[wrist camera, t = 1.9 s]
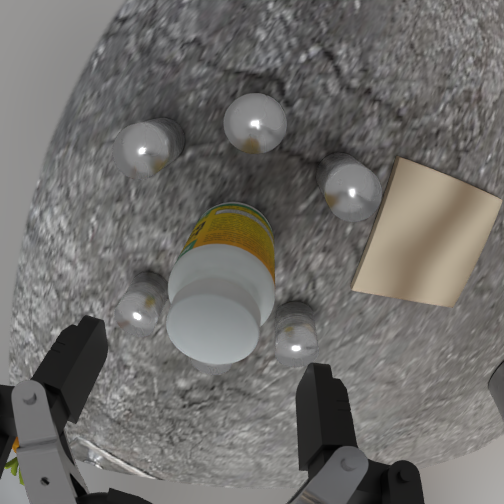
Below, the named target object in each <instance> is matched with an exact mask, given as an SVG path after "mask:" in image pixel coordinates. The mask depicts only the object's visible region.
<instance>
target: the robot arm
mask: <svg viewBox="0 0 504 504" xmlns="http://www.w3.org/2000/svg"><path fill="white" fill-rule="evenodd" d="M107 353H108V344H107V337H106V330H105V323H104V321H103V320H101V319H98V318H94V317H91V316H88V315H85V316H84V317H83V318H82V320H81V321H80V323H79V324H78V326H76V325H73V324H71V325H70V326H69V327H67V328H66V329H64V330H63V331H62V332H61V333H60V335H59V336H58V338H57V339H56V342H55V343H54V344H53V345H52V347H51V350H49V351H48V353H47V355H46V356H45V358H44V359H43V361H42V362H41V364H40V366H39V367H38V369H37V370H36V372H35V374H34V375H33V377H32V378H31V379H30V380H25V381H22V382H20V383H18V384H17V385H16V386H6V385H0V479H1V476H2V473H3V470H4V467H5V465H6V462H7V459H8V457H9V454H10V451H11V449H12V446H13V444H14V441H15V439H16V437H18V440H19V447H17V449H16V454H17V459H18V463H19V467H20V471H21V475H22V479H23V482H24V486H25V489H26V492H27V496H28V499H29V502H30V504H152V503H150V502H148V501H146V500H144V499H143V498H141V497H139V496H135V495H132V494H128V493H125V492H121V491H118V490H115V489H112V488H109V492H108V493H105V492H103V493H102V492H101V493H100V492H98V493H89V491H88V489H87V486H86V484H85V482H84V479H83V478H82V476H81V474H80V472H79V470H78V467H77V465H76V462H75V459H74V456H73V453H72V450H71V447H70V444H69V441H68V438H67V435H66V432H65V429H64V427H65V425H66V423H67V421H70V422H72V423H75V424H76V423H77V421H78V419H79V416H80V414H81V412H82V410H83V407H84V405H85V403H86V401H87V399H88V396H89V394H90V392H91V390H92V388H93V386H94V383H95V381H96V379H97V377H98V375H99V373H100V371H101V369H102V367H103V365H104V363H105V360H106V358H107ZM488 388H489V391H490V393H491V395H492V397H493V399H494V401H495V403H496V405H497V407H498V410H499V412H500V414H501V416H502V419H503V421H504V362H503V363H502V364H501V366H500V367H499V368H498V369H497V370H496V372H495V373H494V375H493V376H492V378H491V380H490V382H489V387H488ZM350 410H351V408H350V403H349V398H348V393H347V389H346V387H345V386H344V384H343V383H342V381H341V380H340V379H336V378H333V377H332V371H331V367H330V365H329V364H320V363H309V365H308V367H307V369H306V371H305V373H304V375H303V377H302V379H301V381H300V383H299V385H298V388H297V391H296V415H297V435H298V457H299V470H301V471H308V479H307V480H306V481H305V482H304V483H303V485H302V486H301V487H300V488H299V490H297V492H296V493H295V494H294V495H293V496H292V497H291V499H290V500H289V501H288V502H287V503H286V504H425V503H424V497H423V491H422V485H421V479H420V474H419V471H418V469H417V467H416V466H415V465H414V464H413V463H411V462H409V461H405V460H401V461H397V462H395V463H394V464H392V465H387V464H383V463H379V462H375V461H372V460H370V459H368V458H367V457H366V455H365V454H364V453H363V452H362V451H361V450H360V449H359V448H358V446H357V442H356V436H355V430H354V425H353V419H352V414H351V412H350Z"/></svg>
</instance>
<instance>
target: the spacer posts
mask: <svg viewBox="0 0 504 504" xmlns="http://www.w3.org/2000/svg"><path fill="white" fill-rule="evenodd" d="M286 129H287V118H286V114H285V112H284V110H283V108H282V107H281V105H280V104H279V103H278V102H277V101H276V100H274V99H273V98H271V97H270V96H267V95H264V94H260V93H251V94H246V95H243V96H241V97H239V98H237V99H236V100H234V101H233V102H232V103H231V104H230V106H229V107H228V109H227V110H226V113H225V116H224V131H225V134H226V136H227V138H228V140H229V141H230V142H231V144H232V145H233V146H235V147H236V148H237V149H239V150H241V151H243V152H246V153H250V154H261V153H265V152H268V151H270V150H272V149H274V148H275V147H276V146H277V145H278V144H279V143H280V142H281V141H282V139H283V138H284V136H285V133H286ZM184 144H185V136H184V132H183V130H182V128H181V127H180V125H179V124H178V123H177V122H175V121H174V120H172V119H169V118H164V117H162V118H156V119H152V120H148V121H144V122H140V123H136V124H132V125H129V126H127V127H125V128H124V129H123V130H121V131H120V132H119V134H118V135H117V137H116V138H115V141H114V144H113V158H114V162H115V164H116V166H117V168H118V169H119V170H120V171H121V172H122V173H123V174H124V175H125V176H127V177H129V178H132V179H136V180H142V179H147V178H149V177H151V176H153V175H154V174H156V173H157V172H158V171H160V170H161V169H162V168H164V167H165V166H167V165H168V164H169V163H171V162H172V161H173V160H175V159H176V158H177V157H178V156H179V155H180V154H181V152H182V150H183V148H184ZM316 180H317V184H318V186H319V188H320V190H321V192H322V194H323V196H324V198H325V200H326V202H327V204H328V206H329V208H330V210H331V211H332V212H333V214H334V215H335V216H337V217H338V218H340V219H342V220H344V221H348V222H358V221H362V220H365V219H367V218H368V217H370V216H371V215H372V214H373V213H374V212H375V211H376V210H377V208H378V207H379V205H380V202H381V199H382V187H381V184H380V181H379V180H378V178H377V177H376V175H375V174H374V173H373V172H371V171H370V170H369V169H368V168H366V167H365V166H364V165H363V164H361V163H360V162H359V161H358V160H356V159H355V158H354V157H352V156H351V155H349V154H346V153H341V152H338V153H333V154H330V155H328V156H326V157H325V158H324V159H323V160H322V161H321V162H320V164H319V165H318V168H317V171H316ZM168 296H169V295H168V284H167V282H166V281H165V279H164V278H163V277H161V276H160V275H158V274H156V273H154V272H149V271H146V272H141V273H139V274H138V275H137V276H136V277H135V279H134V280H133V282H132V284H131V285H130V287H129V288H128V290H127V291H126V293H125V294H124V296H123V298H122V299H121V301H120V302H119V304H118V306H117V307H116V309H115V312H114V316H115V320H116V322H117V323H118V325H119V326H120V327H121V328H122V329H123V330H124V331H126V332H127V333H129V334H131V335H134V336H139V337H143V336H147V335H149V334H151V333H152V332H153V330H154V328H155V325H156V323H157V321H158V319H159V316H160V314H161V312H162V310H163V307H164V305H165V303H166V301H167V299H168ZM318 354H319V347H318V340H317V334H316V327H315V321H314V315H313V311H312V309H311V307H310V306H309V305H307V304H306V303H303V302H300V301H291V302H287V303H285V304H283V305H281V306H280V307H279V308H278V309H277V311H276V313H275V356H276V359H277V360H278V361H279V362H280V363H281V364H283V365H285V366H288V367H303V366H306V365H308V364H309V363H312V362H313V361H314V360H315V359H316V358H317V356H318ZM190 361H191V363H192V365H193V366H194V367H195V368H196V369H198V370H199V371H201V372H203V373H206V374H211V375H218V374H223V373H225V372H227V371H228V370H229V369H230V368H231V365H232V363H229V364H209V363H204V362H201V361H198V360H195V359H193V358H191V357H190Z"/></svg>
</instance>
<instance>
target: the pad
mask: <svg viewBox="0 0 504 504" xmlns="http://www.w3.org/2000/svg"><path fill="white" fill-rule="evenodd" d="M502 201H503V200H501V199H500V198H498V197H496V196H494V195H492V194H490V193H488V192H485V191H483V190H481V189H479V188H477V187H475V186H472V185H470V184H468V183H466V182H463V181H461V180H459V179H456V178H454V177H451V176H449V175H447V174H444V173H442V172H439V171H437V170H434V169H432V168H429V167H426V166H424V165H421V164H418V163H416V162H413V161H410V160H408V159H405V158H402V157H399V156H396V159H395V162H394V165H393V168H392V172H391V175H390V178H389V181H388V184H387V188H386V191H385V194H384V197H383V200H382V203H381V206H380V209H379V211H378V214H377V217H376V220H375V223H374V226H373V228H372V231H371V234H370V237H369V239H368V242H367V245H366V247H365V250H364V252H363V255H362V258H361V260H360V263H359V265H358V268H357V270H356V273H355V275H354V278H353V280H352V283H351V285H350V287H351V289H352V290H353V291H358V292H364V293H369V294H375V295H381V296H386V297H392V298H398V299H403V300H409V301H415V302H421V303H427V304H433V305H439V306H445V307H451V308H453V306H454V305H455V303H456V301H457V299H458V298H459V296H460V294H461V292H462V290H463V288H464V286H465V285H466V283H467V281H468V279H469V277H470V275H471V273H472V271H473V269H474V267H475V265H476V263H477V261H478V259H479V256H480V254H481V252H482V250H483V248H484V245H485V243H486V241H487V239H488V236H489V234H490V232H491V229H492V227H493V224H494V222H495V219H496V217H497V214H498V212H499V209H500V206H501V204H502Z"/></svg>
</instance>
